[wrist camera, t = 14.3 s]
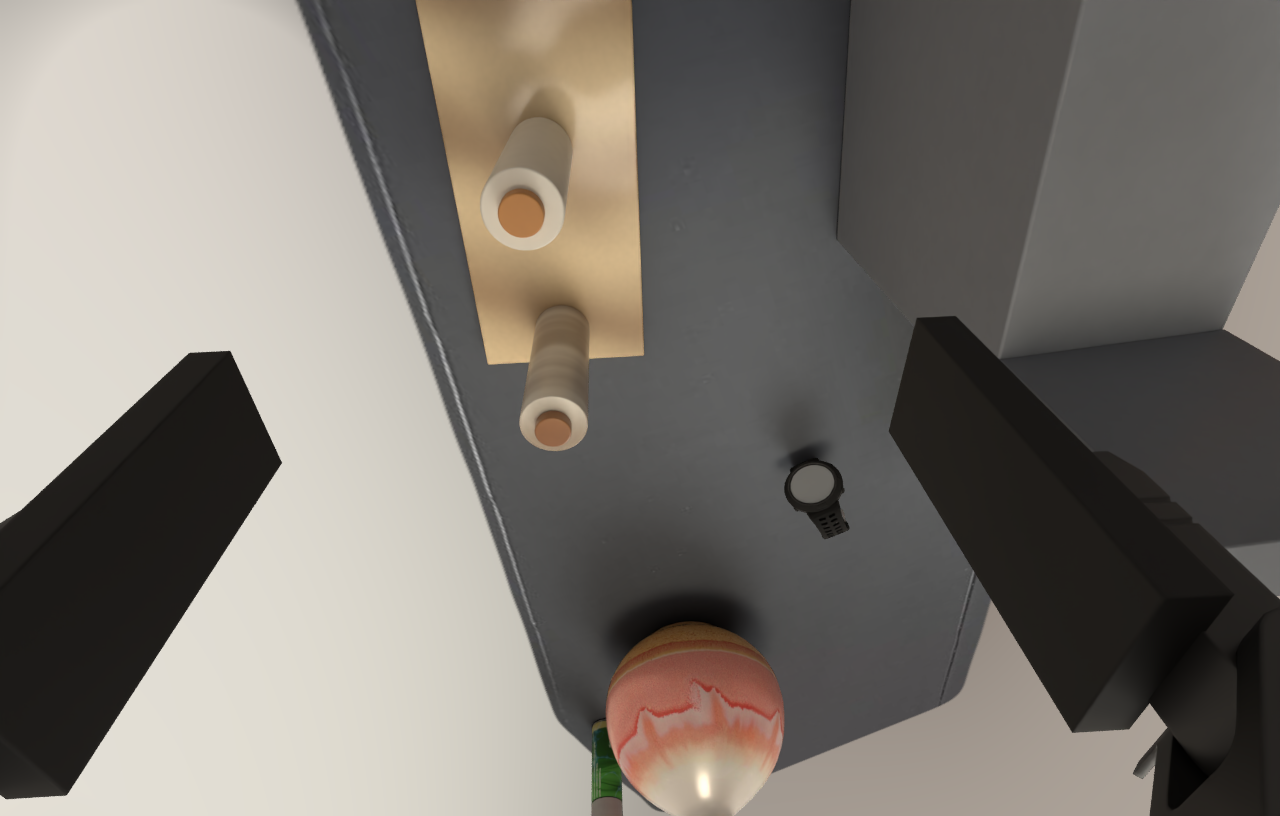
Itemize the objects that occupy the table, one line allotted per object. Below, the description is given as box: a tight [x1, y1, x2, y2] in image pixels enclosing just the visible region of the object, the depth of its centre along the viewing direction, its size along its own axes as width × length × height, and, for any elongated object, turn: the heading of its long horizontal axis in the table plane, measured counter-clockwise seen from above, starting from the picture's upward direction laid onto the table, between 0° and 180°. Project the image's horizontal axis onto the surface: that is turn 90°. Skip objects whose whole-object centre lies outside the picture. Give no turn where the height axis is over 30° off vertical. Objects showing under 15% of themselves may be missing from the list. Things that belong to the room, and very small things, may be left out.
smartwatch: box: [784, 458, 849, 539], centre depth 42 cm, size 4×5×5 cm
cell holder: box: [416, 0, 644, 451], centre depth 26 cm, size 23×9×10 cm, turn 2°
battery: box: [592, 719, 623, 816], centre depth 57 cm, size 3×3×10 cm
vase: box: [606, 621, 784, 816], centre depth 47 cm, size 14×14×18 cm
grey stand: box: [837, 0, 1280, 596], centre depth 18 cm, size 21×7×24 cm, turn 7°
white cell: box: [480, 117, 573, 250], centre depth 26 cm, size 3×3×10 cm
